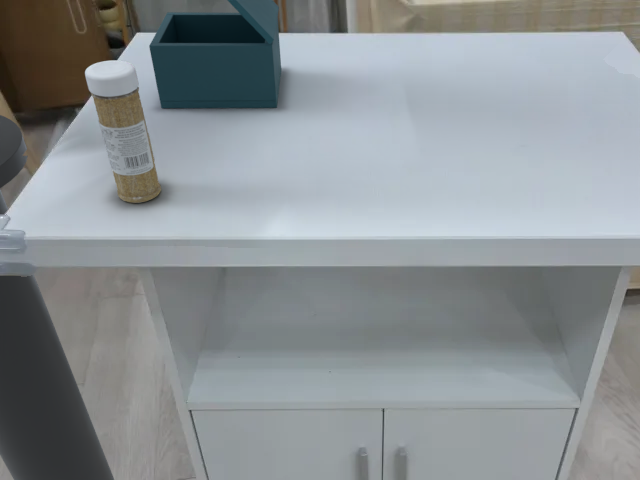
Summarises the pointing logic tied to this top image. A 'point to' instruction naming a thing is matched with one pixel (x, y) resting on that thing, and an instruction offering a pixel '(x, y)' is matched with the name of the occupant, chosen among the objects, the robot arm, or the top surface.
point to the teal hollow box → (214, 62)
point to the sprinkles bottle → (124, 129)
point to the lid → (259, 15)
